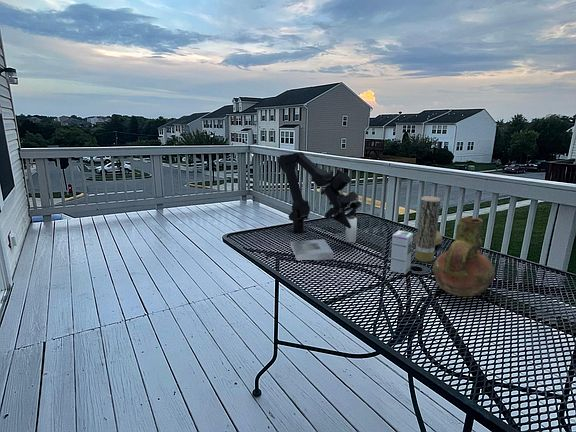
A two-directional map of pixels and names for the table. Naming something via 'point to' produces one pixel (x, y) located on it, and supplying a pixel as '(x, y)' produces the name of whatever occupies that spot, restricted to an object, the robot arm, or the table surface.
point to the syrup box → (401, 251)
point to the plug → (351, 229)
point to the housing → (311, 250)
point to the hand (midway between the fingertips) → (353, 226)
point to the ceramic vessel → (464, 262)
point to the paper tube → (427, 228)
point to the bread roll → (438, 238)
